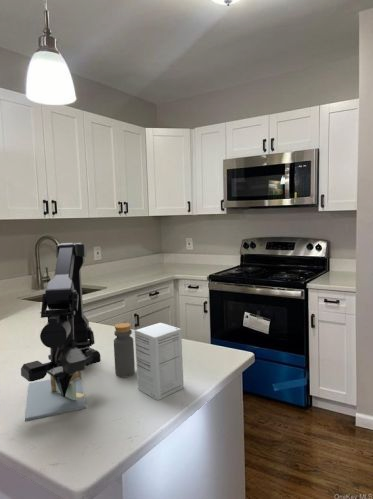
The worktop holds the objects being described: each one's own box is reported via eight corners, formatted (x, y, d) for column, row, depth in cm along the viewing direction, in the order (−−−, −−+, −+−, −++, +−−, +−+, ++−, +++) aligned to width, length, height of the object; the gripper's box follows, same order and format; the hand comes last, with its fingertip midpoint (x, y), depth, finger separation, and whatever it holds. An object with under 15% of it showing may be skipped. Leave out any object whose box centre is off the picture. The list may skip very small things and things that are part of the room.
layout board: (80, 375, 109) (80, 373, 109) (87, 407, 90) (87, 405, 90) (29, 385, 104) (29, 382, 104) (24, 421, 85) (24, 418, 85)
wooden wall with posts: (82, 377, 108) (81, 360, 107) (55, 394, 98) (54, 376, 97) (77, 376, 108) (75, 359, 108) (49, 393, 98) (48, 375, 98)
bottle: (117, 379, 106) (115, 329, 104) (113, 371, 111) (110, 324, 110) (137, 375, 108) (134, 326, 107) (132, 367, 113) (129, 321, 112)
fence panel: (56, 391, 97) (55, 376, 97) (59, 389, 98) (58, 375, 98) (72, 400, 92) (71, 385, 92) (76, 398, 93) (75, 383, 93)
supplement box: (163, 377, 106) (161, 321, 104) (184, 388, 99) (182, 328, 97) (136, 389, 99) (133, 329, 98) (157, 401, 92) (154, 337, 91)
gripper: (38, 351, 79) (39, 421, 80) (111, 334, 92) (112, 394, 93) (19, 341, 87) (21, 404, 88) (89, 326, 100) (90, 381, 101)
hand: (63, 396), depth 92 cm, fingers closed
